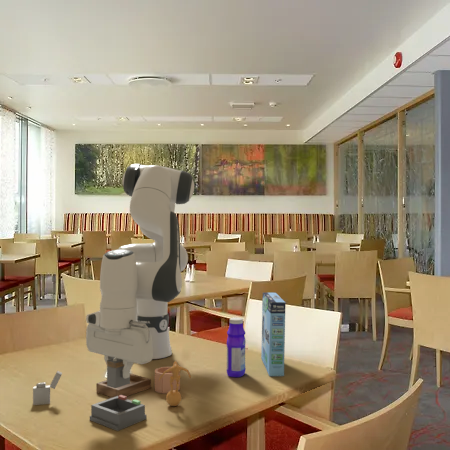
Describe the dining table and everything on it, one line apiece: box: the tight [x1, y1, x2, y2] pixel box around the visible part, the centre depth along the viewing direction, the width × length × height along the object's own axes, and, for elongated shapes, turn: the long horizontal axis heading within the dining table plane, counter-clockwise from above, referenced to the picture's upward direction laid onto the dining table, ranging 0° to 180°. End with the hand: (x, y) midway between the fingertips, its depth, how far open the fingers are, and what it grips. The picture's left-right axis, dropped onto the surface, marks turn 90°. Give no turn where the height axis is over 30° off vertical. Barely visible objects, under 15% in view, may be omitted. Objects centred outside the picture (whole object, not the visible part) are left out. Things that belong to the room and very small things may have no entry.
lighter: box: [32, 370, 63, 406], centre depth 137 cm, size 7×2×8 cm, turn 105°
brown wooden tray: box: [95, 372, 152, 398], centre depth 147 cm, size 9×12×2 cm
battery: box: [106, 358, 130, 388], centre depth 126 cm, size 3×4×6 cm, turn 142°
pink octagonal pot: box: [154, 366, 181, 395], centre depth 148 cm, size 7×7×5 cm
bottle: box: [226, 316, 247, 378], centre depth 162 cm, size 7×6×17 cm
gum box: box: [260, 292, 287, 378], centre depth 169 cm, size 20×5×23 cm, turn 3°
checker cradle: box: [89, 395, 147, 432], centre depth 126 cm, size 10×9×4 cm
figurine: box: [159, 360, 192, 407], centre depth 134 cm, size 8×6×12 cm
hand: (118, 375), depth 126 cm, fingers closed on battery, 3 cm apart
